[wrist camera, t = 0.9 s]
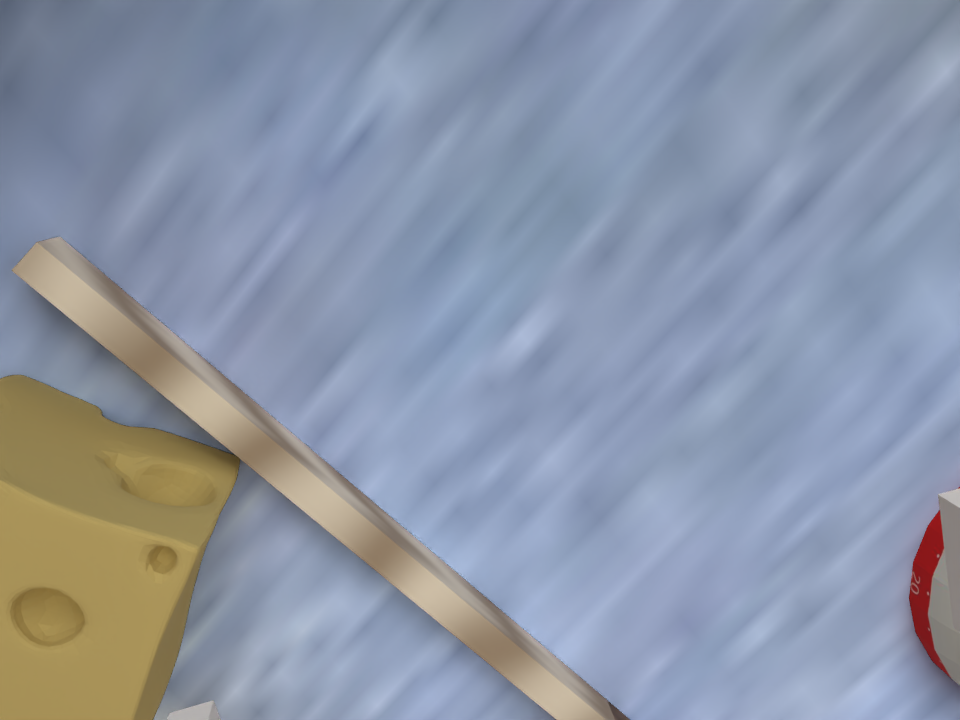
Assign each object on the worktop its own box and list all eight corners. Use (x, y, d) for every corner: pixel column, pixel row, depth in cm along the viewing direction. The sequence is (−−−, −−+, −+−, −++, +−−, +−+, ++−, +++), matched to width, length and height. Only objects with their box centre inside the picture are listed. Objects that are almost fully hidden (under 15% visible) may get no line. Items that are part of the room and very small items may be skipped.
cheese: (16, 366, 38) (-112, 438, 28) (259, 454, 40) (220, 550, 30) (-57, 579, 40) (-201, 717, 30) (180, 654, 41) (118, 805, 32)
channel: (-200, 525, 38) (-305, 592, 32) (59, 236, 37) (-2, 251, 31) (415, 957, 46) (419, 1071, 41) (647, 734, 45) (686, 820, 39)
